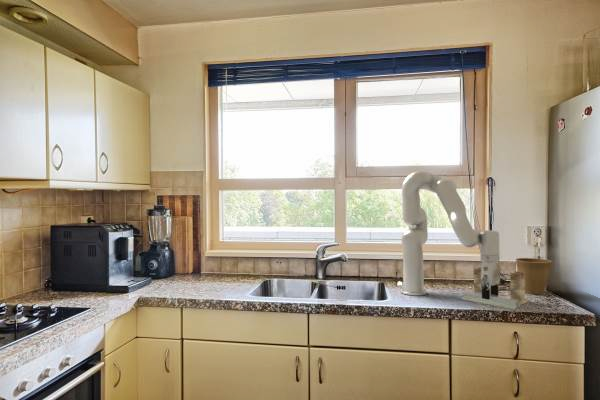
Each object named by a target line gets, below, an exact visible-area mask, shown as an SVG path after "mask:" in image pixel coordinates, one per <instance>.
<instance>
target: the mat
mask: <svg viewBox="0 0 600 400" xmlns="http://www.w3.org/2000/svg"><path fill="white" fill-rule="evenodd" d="M461 300H463V301H468V302H474V303H479V304H483V305H489V306H495V307H500V308H505V309H510V310H515V309H518V308H519V307H521V304H518V306H517V307H515V306H509V305H504V304H499V303H493V302H488V301H483V300H477V299H472V298H467V297H464V296H463V297H461Z"/></svg>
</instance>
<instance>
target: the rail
mask: <svg viewBox="0 0 600 400" xmlns="http://www.w3.org/2000/svg"><path fill="white" fill-rule="evenodd" d="M463 297H467V298H472V299H477V300H483V301H488V302H493V303H499V304H504V305H509V306H515V307H517V306H518V299H516V298H510V297H505V296H499V295H493V294H490V299H489V300H488V299H483V298H482V293H481V292H476V291H474V290H471V289H470V290H469V289H465V290H463Z"/></svg>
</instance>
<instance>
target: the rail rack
mask: <svg viewBox="0 0 600 400" xmlns="http://www.w3.org/2000/svg"><path fill="white" fill-rule="evenodd" d="M481 267H482V266H477V267H474V268H473V291H476V292H481V293H482V289H481ZM509 275H510V277H509V279H510V283H509V285H510V288H509V289H510V295H508V294H507V295H506V294H501V293H498V295H499V296H505V297H510V298H516V299H518V304H521V305H525V304H526V303H528V302H529V298H526V292H525V272H519V271H518V270H515V271H513V272H510V273H509ZM486 286H488V285H486ZM490 294H491V292H490Z"/></svg>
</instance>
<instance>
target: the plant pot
mask: <svg viewBox="0 0 600 400" xmlns="http://www.w3.org/2000/svg"><path fill="white" fill-rule="evenodd" d="M515 262H516V269H517V271H519V272H525V294H531V295H543V294H544V292H545V291H546V290H545V289H546V288H547V285H548V281H549V278H550V274H551V269H552V260H550V259H543V258H533V257H531V258H530V257H520V258H516V259H515Z"/></svg>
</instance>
